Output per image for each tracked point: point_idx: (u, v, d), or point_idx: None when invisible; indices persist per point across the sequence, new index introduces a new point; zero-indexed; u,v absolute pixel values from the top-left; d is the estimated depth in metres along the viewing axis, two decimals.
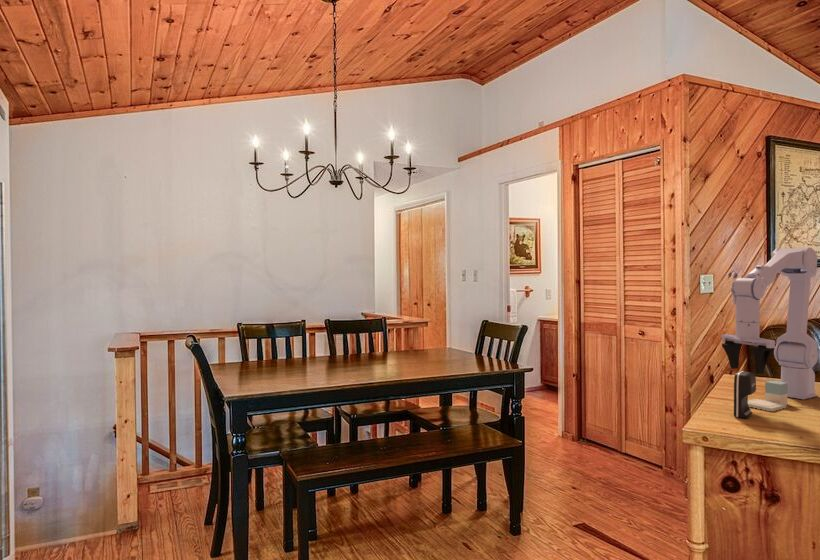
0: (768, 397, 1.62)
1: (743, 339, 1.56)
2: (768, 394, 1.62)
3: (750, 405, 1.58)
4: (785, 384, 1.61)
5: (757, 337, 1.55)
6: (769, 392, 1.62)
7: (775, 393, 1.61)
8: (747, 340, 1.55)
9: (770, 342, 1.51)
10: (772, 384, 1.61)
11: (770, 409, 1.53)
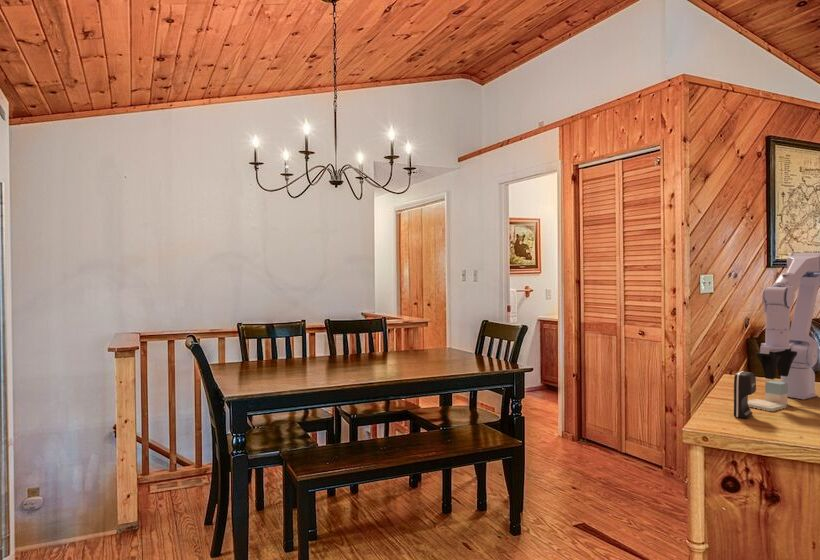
0: (768, 397, 1.62)
1: (764, 344, 1.64)
2: (768, 394, 1.62)
3: (750, 405, 1.58)
4: (785, 384, 1.61)
5: (773, 344, 1.60)
6: (769, 392, 1.62)
7: (775, 393, 1.61)
8: (763, 345, 1.63)
9: (761, 347, 1.59)
10: (772, 384, 1.61)
11: (770, 409, 1.53)
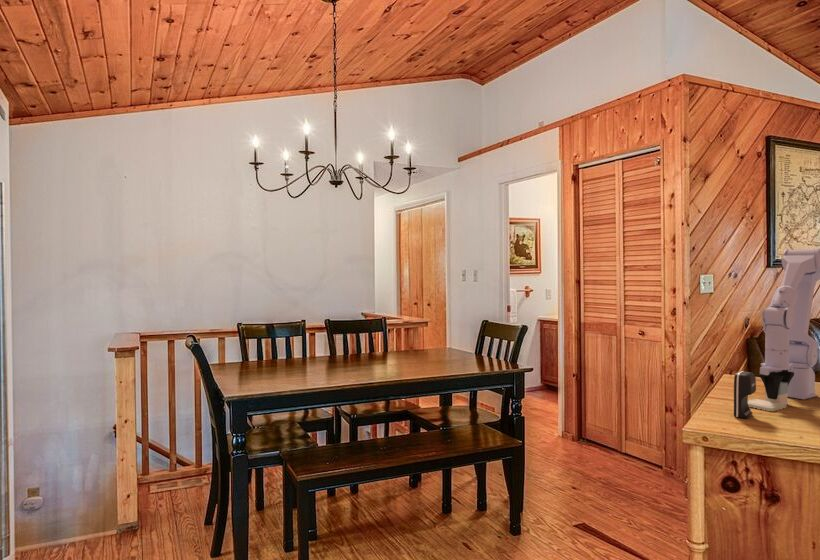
0: None
1: (764, 365, 1.64)
2: None
3: (750, 405, 1.58)
4: (785, 384, 1.61)
5: (772, 365, 1.60)
6: None
7: None
8: (763, 366, 1.63)
9: (761, 368, 1.59)
10: None
11: (770, 409, 1.53)
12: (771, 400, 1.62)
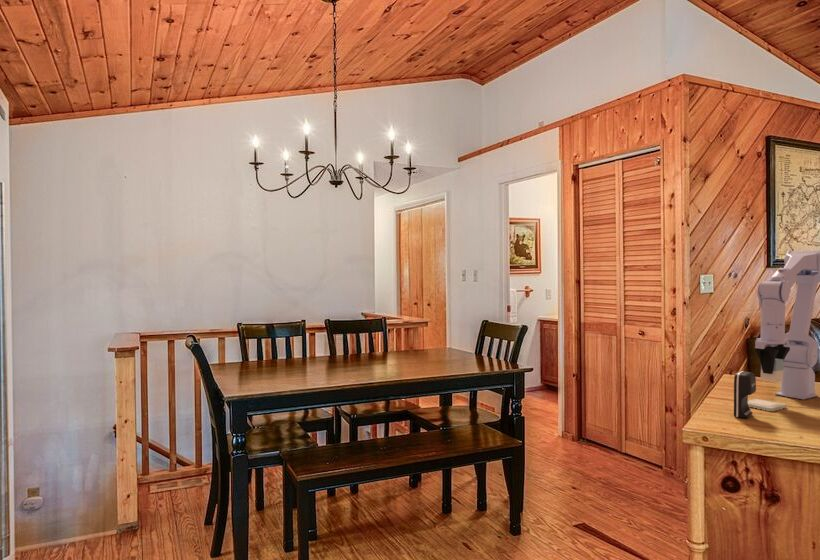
0: (764, 374, 1.60)
1: (759, 339, 1.62)
2: None
3: (750, 405, 1.58)
4: (781, 360, 1.59)
5: (768, 339, 1.59)
6: None
7: None
8: (759, 340, 1.61)
9: (756, 342, 1.57)
10: None
11: (770, 409, 1.53)
12: (767, 377, 1.60)
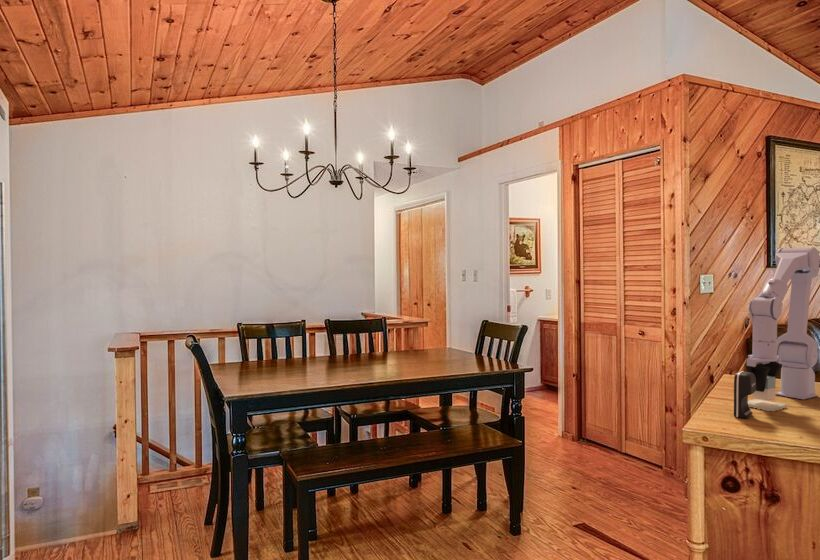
0: (756, 392, 1.58)
1: (751, 356, 1.60)
2: None
3: (750, 405, 1.58)
4: (773, 378, 1.57)
5: (760, 356, 1.57)
6: None
7: None
8: None
9: (747, 360, 1.55)
10: None
11: (770, 409, 1.53)
12: (758, 395, 1.58)
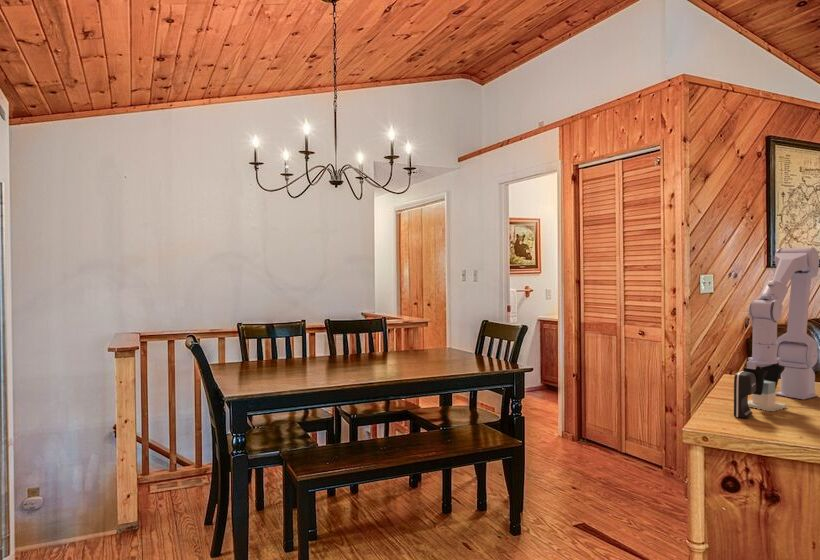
0: (756, 397, 1.58)
1: (751, 359, 1.60)
2: (755, 394, 1.58)
3: (750, 405, 1.58)
4: (773, 383, 1.57)
5: (760, 359, 1.57)
6: None
7: (762, 392, 1.57)
8: None
9: (747, 362, 1.55)
10: None
11: (770, 409, 1.53)
12: (758, 400, 1.58)
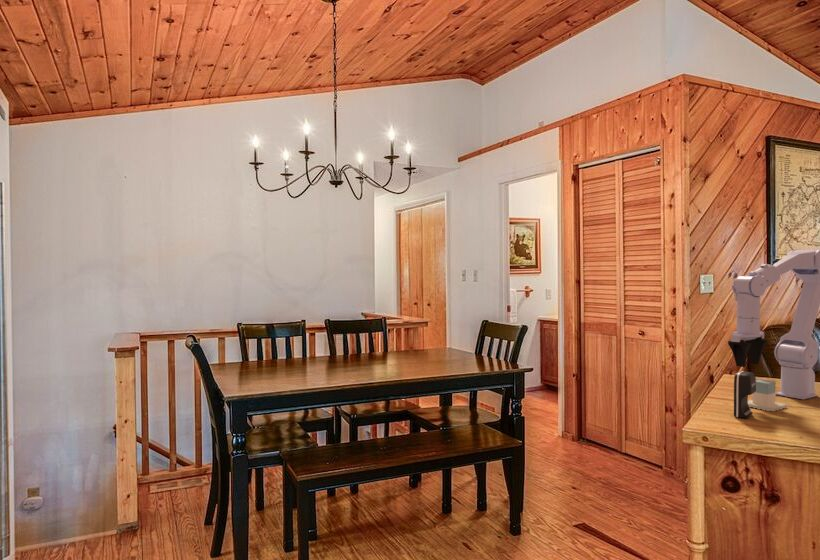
0: (756, 397, 1.58)
1: (735, 333, 1.66)
2: (755, 394, 1.58)
3: (750, 405, 1.58)
4: (773, 383, 1.57)
5: (744, 332, 1.63)
6: (756, 391, 1.58)
7: (762, 392, 1.57)
8: None
9: (732, 336, 1.61)
10: (759, 383, 1.57)
11: (770, 409, 1.53)
12: (758, 400, 1.58)
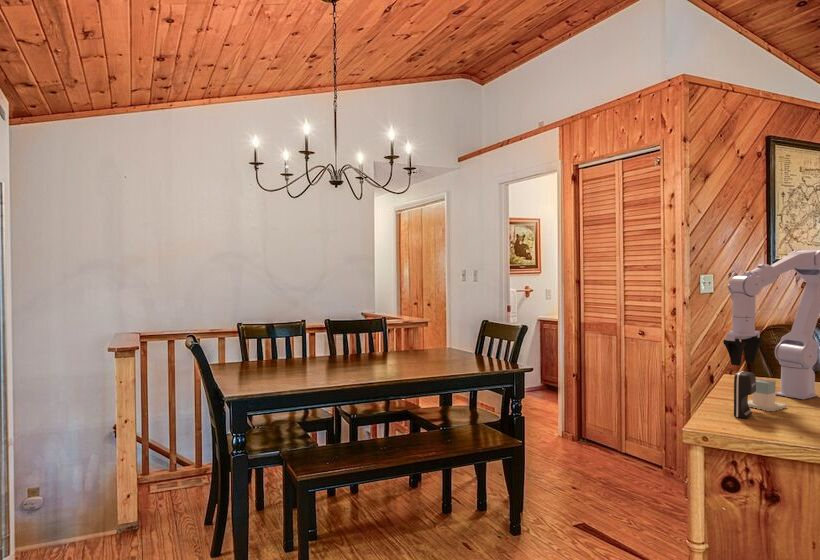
0: (756, 397, 1.58)
1: (731, 332, 1.68)
2: (755, 394, 1.58)
3: (750, 405, 1.58)
4: (773, 383, 1.57)
5: (739, 331, 1.65)
6: (756, 391, 1.58)
7: (762, 392, 1.57)
8: None
9: (727, 335, 1.63)
10: (759, 383, 1.57)
11: (770, 409, 1.53)
12: (758, 400, 1.58)
